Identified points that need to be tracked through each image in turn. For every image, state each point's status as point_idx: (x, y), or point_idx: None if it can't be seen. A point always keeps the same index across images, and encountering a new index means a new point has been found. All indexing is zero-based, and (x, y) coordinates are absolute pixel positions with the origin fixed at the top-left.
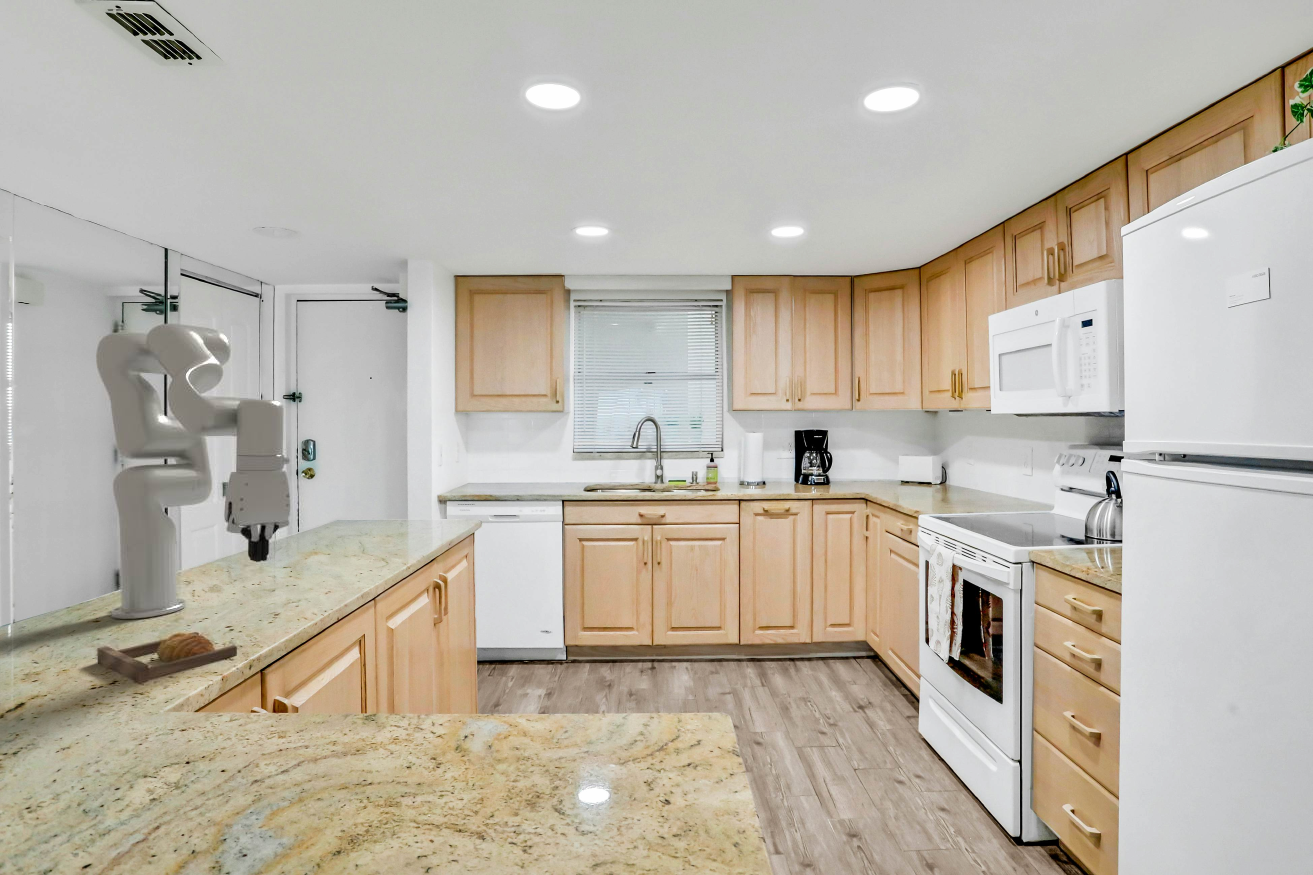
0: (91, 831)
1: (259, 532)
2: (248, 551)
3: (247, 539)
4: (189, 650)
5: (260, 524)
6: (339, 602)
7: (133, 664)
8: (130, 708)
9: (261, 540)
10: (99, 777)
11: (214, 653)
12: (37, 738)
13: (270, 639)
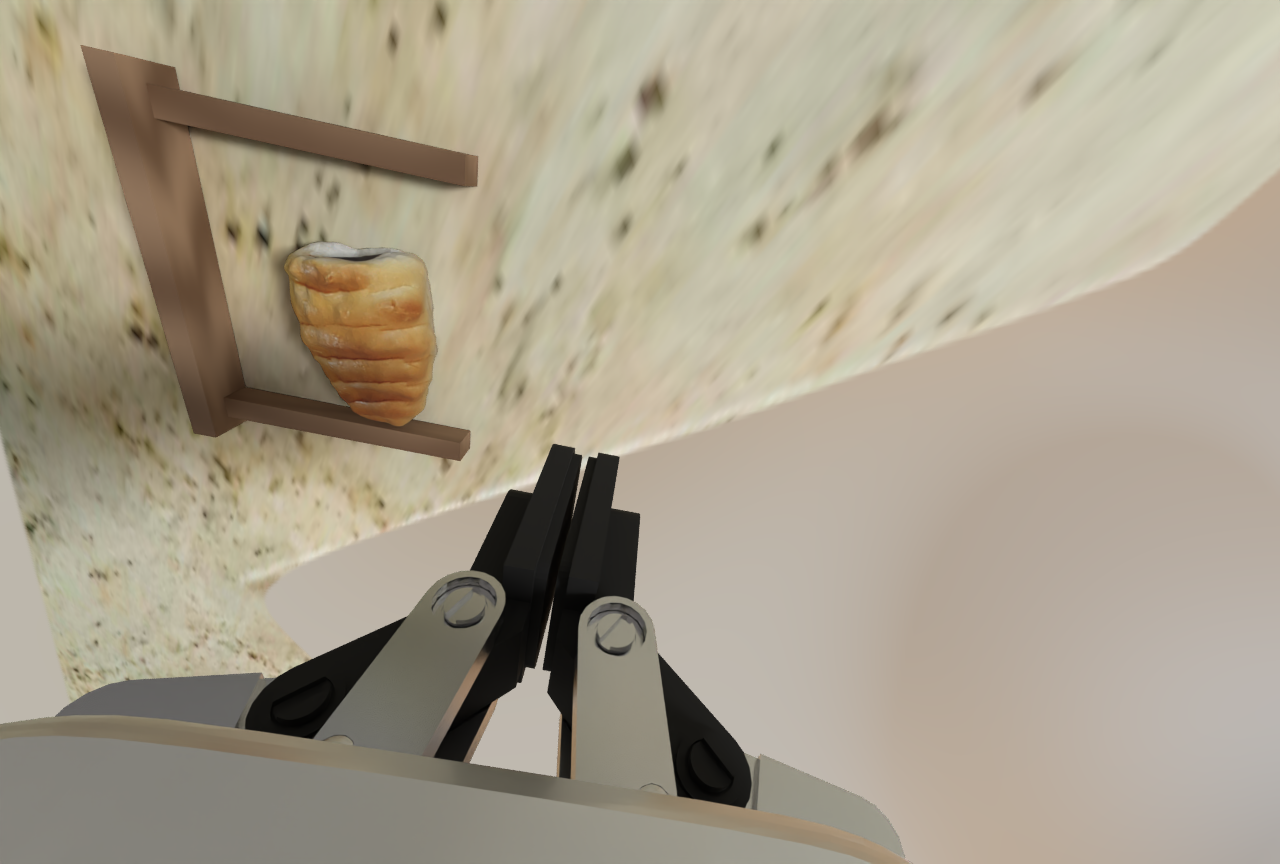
0: None
1: (573, 665)
2: (499, 514)
3: (459, 580)
4: (344, 397)
5: (576, 775)
6: (1109, 253)
7: (184, 393)
8: (198, 524)
9: (552, 650)
10: (144, 674)
11: (400, 448)
12: (53, 505)
13: (601, 417)
